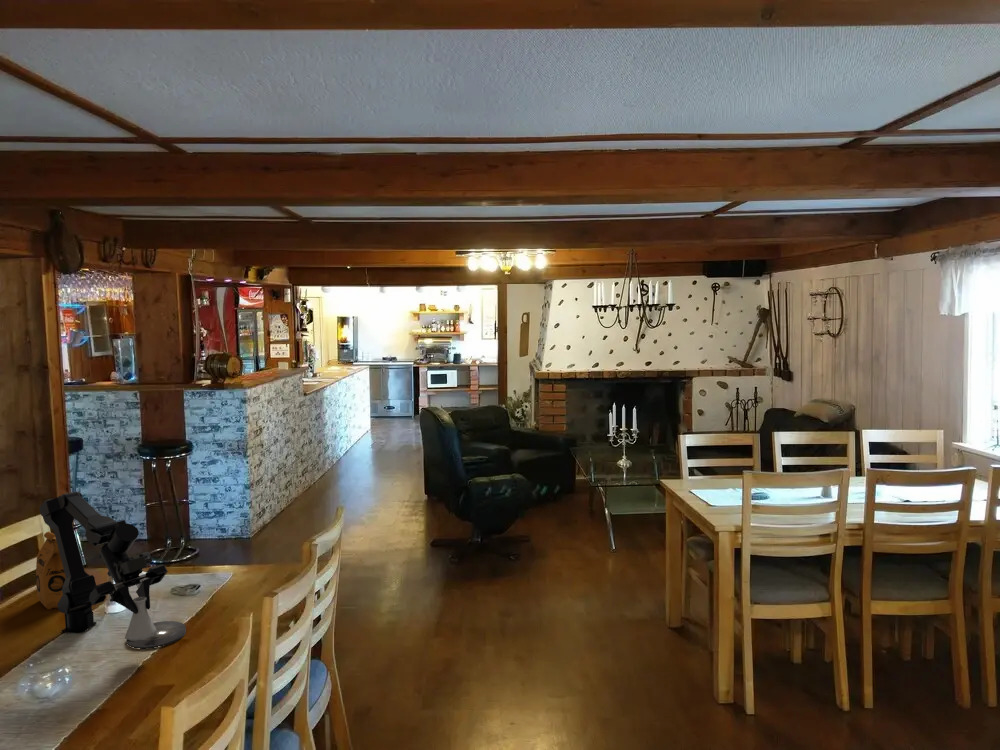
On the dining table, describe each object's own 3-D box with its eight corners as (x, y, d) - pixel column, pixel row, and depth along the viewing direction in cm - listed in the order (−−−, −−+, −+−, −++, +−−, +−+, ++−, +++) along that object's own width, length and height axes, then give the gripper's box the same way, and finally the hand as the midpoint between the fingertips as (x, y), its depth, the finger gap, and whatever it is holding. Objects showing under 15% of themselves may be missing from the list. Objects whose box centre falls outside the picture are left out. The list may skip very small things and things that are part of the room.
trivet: (114, 648, 187) (114, 643, 187) (148, 624, 202) (148, 619, 202) (166, 650, 186) (165, 645, 186) (196, 625, 201) (196, 621, 201)
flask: (144, 642, 177) (142, 605, 177) (119, 640, 179) (117, 603, 178) (162, 630, 185) (160, 594, 184) (137, 628, 186) (136, 592, 185)
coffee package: (39, 612, 211) (35, 543, 209) (36, 600, 221) (31, 533, 219) (77, 604, 217) (73, 536, 215) (72, 592, 227) (68, 527, 225)
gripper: (92, 555, 174) (118, 607, 169) (162, 535, 190) (187, 582, 185) (78, 579, 179) (102, 630, 174) (147, 557, 195) (171, 604, 190)
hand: (143, 610), depth 180 cm, fingers closed on flask, 3 cm apart
